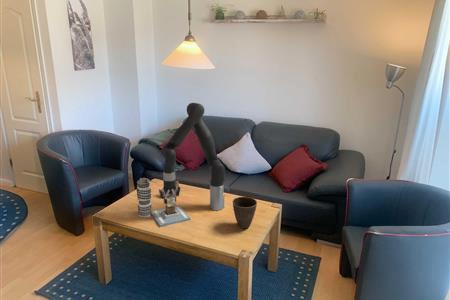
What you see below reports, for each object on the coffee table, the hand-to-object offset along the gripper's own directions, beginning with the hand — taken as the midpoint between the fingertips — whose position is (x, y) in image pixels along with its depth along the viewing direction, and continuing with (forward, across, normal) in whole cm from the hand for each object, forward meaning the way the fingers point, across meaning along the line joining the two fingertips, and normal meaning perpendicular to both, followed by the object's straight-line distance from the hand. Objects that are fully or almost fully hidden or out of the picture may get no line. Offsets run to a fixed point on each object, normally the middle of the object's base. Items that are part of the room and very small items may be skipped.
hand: (170, 202), depth 213 cm
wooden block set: (+10, -12, -32) cm, 35 cm away
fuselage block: (+8, 0, 0) cm, 8 cm away
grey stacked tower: (+10, +14, -10) cm, 20 cm away
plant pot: (+10, -37, +31) cm, 49 cm away
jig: (+10, 0, 0) cm, 10 cm away
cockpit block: (+1, 0, 0) cm, 1 cm away
